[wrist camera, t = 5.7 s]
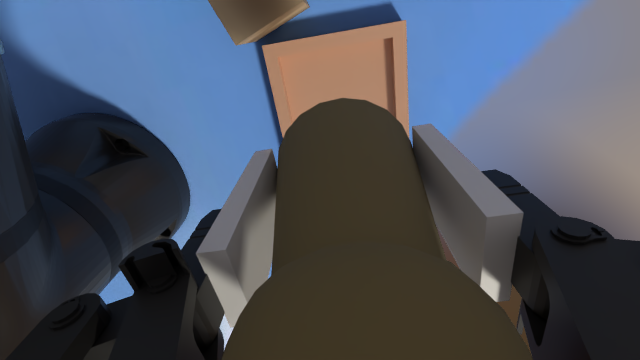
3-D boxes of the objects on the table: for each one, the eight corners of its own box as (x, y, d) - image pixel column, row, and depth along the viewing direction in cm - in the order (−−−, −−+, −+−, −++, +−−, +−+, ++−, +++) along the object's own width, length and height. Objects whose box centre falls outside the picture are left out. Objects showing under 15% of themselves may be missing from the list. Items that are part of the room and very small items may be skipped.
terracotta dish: (292, 165, 29) (290, 172, 28) (265, 44, 24) (261, 45, 23) (406, 151, 28) (409, 156, 27) (402, 20, 23) (406, 20, 22)
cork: (268, 102, 12) (20, 417, 2) (418, 92, 12) (844, 411, 2) (286, 223, 15) (205, 598, 5) (408, 218, 15) (569, 609, 5)
